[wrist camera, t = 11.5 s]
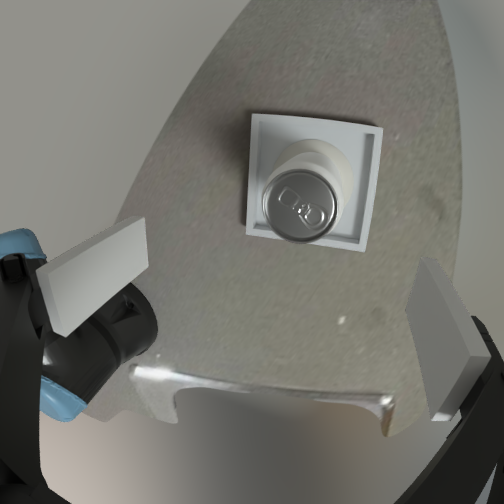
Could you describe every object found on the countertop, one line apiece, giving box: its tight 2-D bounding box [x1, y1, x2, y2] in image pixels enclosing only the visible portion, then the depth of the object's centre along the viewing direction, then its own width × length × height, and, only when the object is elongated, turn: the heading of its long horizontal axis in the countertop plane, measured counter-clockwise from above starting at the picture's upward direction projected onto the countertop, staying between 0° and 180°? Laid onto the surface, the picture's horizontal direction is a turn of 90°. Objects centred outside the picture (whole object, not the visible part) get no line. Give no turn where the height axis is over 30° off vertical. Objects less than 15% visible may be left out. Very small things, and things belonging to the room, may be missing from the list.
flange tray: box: [246, 114, 383, 252], centre depth 33 cm, size 14×14×2 cm
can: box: [262, 152, 344, 244], centre depth 28 cm, size 6×6×12 cm
